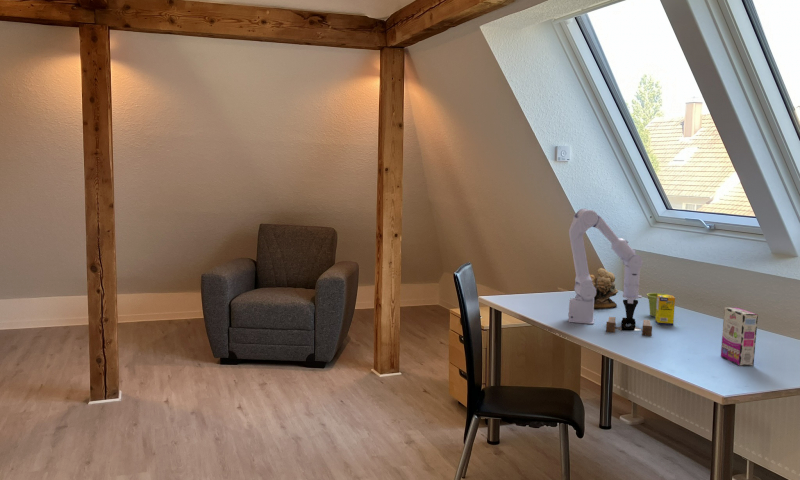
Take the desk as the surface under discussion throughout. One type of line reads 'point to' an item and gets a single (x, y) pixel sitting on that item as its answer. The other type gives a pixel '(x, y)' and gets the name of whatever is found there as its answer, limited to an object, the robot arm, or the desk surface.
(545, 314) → the desk surface
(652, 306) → the plant pot
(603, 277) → the tan lumpy statue
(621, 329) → the black bracket
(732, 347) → the candy bar box
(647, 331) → the wooden rail pair
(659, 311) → the supplement box
